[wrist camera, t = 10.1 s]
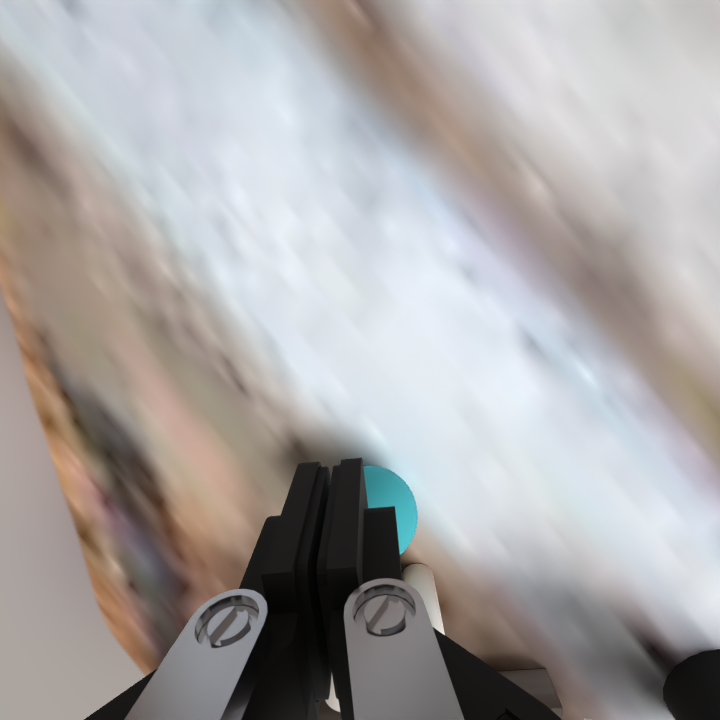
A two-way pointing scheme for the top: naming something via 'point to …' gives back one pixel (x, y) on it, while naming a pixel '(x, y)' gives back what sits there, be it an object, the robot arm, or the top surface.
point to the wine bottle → (695, 688)
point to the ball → (392, 500)
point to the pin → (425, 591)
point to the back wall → (528, 680)
